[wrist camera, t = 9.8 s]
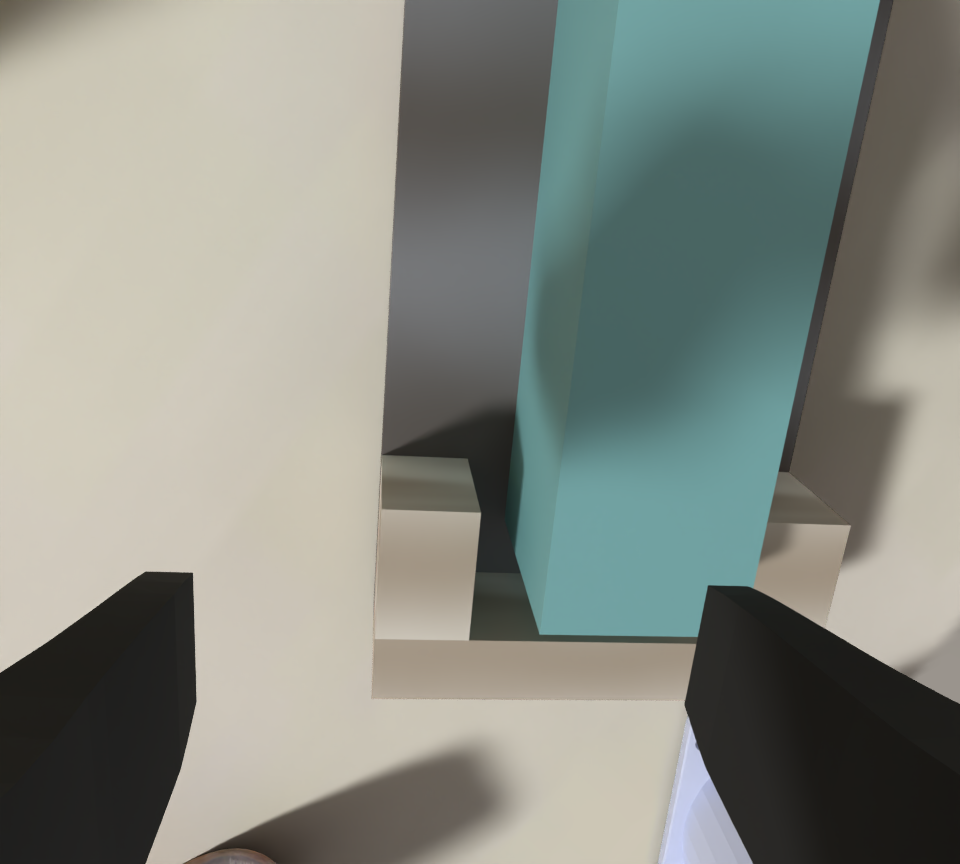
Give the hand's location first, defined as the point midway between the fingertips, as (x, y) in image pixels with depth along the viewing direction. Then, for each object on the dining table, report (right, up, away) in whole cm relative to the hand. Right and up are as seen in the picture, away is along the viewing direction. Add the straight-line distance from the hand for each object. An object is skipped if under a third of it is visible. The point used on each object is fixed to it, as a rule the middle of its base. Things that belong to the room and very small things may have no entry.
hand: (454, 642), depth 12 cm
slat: (+4, +8, +6) cm, 11 cm away
